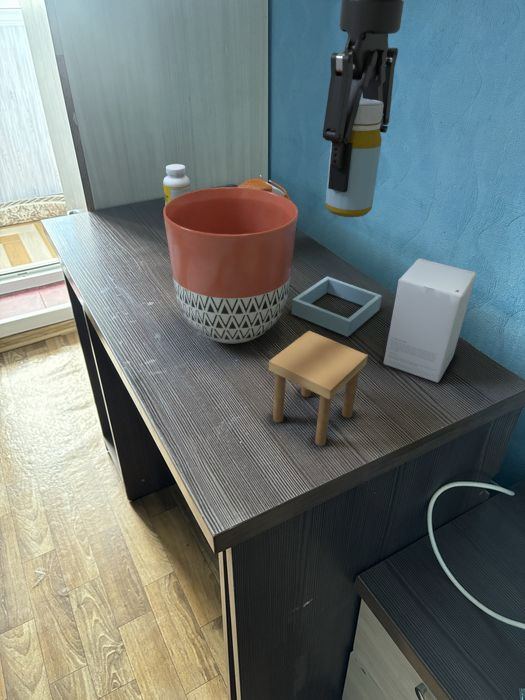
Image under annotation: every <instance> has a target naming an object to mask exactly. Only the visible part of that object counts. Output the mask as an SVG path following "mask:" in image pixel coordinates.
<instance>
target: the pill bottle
mask: <svg viewBox="0 0 525 700" xmlns="http://www.w3.org/2000/svg"><path fill="white" fill-rule="evenodd" d="M186 172H187V170H186V166H185V165H184V164H180V163H173V164H167V165H166V166H165V174H167V175H165V177H164V178H163V182H162V183H163V194H164V205H166V204H167V203H168V202H169V201H170V200H172V199H174V198H175V197H178V196H180V195H182V194H185V193H189V192H191V180H190V178H189V177H188V176H187V175H186Z"/></svg>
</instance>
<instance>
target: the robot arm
mask: <svg viewBox="0 0 525 700" xmlns="http://www.w3.org/2000/svg"><path fill="white" fill-rule="evenodd" d="M404 3H405V1H404V0H341V5H340V6H341V7H340V17H339V18H340V19H339V29H340V30H341V31H342V32H345V33H346V34H347V40H346V43H345V46H344V49H343V51H342V52H332V53H331V55H330V77H329V78H330V79H329V86H328V93H327V100H326V107H325V113H324V114H325V115H324V122H323V128H322V138H323V139H324V140H325V141H328V142H330V143H331V142H332V150H331V161H330V172H329V183H328V189H332V190H336V191H340V192H347V187H348V179H349V170H350V161H351V152H352V144H353V143H349V139H350V136H351V132H352V128H353V125H354V121H355V117H356V114H357V110H358V106H359V103H360V99H361V98H363V99H370V100H378V101H381V102H383V105H384V106H383V113H382V119H381V125H380V133H383V134H386V133H387V132H388V128H389V126H388V125H389V123H390V117H391V106H392V97H393V86H394V77H395V68H396V63H397V58H398V55H399V48H398V47H391V46H390V47H389V35H391V34H396V33H398V32H400V29H401V24H402V17H403V10H404Z"/></svg>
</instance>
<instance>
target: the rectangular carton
mask: <svg viewBox="0 0 525 700" xmlns="http://www.w3.org/2000/svg"><path fill="white" fill-rule="evenodd" d="M477 274H478V273H477V272H476V271H472V270H468V269H464V268H460V267H456V266H451V265H448V264H444V263H439V262H435V261H431V260H428V259H424V258H420V257H419V258H417V259H416V260H415V262H414V263H413V264H412V265H411V266H410V267H409V268H408V270H406V271H405V273H404V274H402V276H401V277H400V278H399V279H398V280H397V288H396V292H395V293H396V294H395V298H394V304H393V310H392V316H391V320H390V326H389V332H388V336H387V342H386V346H385V347H386V348H385V354H384V358H383V361H382V362H383V365H385V366H388V367H390V368H394V369H397V370H400V371H403V372H406V373H408V374H411V375H414V376H417V377H419V378H423V379H426V380H428V381H432V382H434V383H439V382H440V381H441V379H442V377H443V375H444V374H445V372H446V370H447V369H448V367H449V365H450V363H451V361H452V360H453V357H454V355H455V351H456V349H457V345H458V341H459V338H460V335H461V330H462V327H463V323H464V320H465V317H466V313H467V309H468V305H469V301H470V298H471V295H472V291H473V287H474V286H475V285H474V284H475V281H476V277H477Z"/></svg>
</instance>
